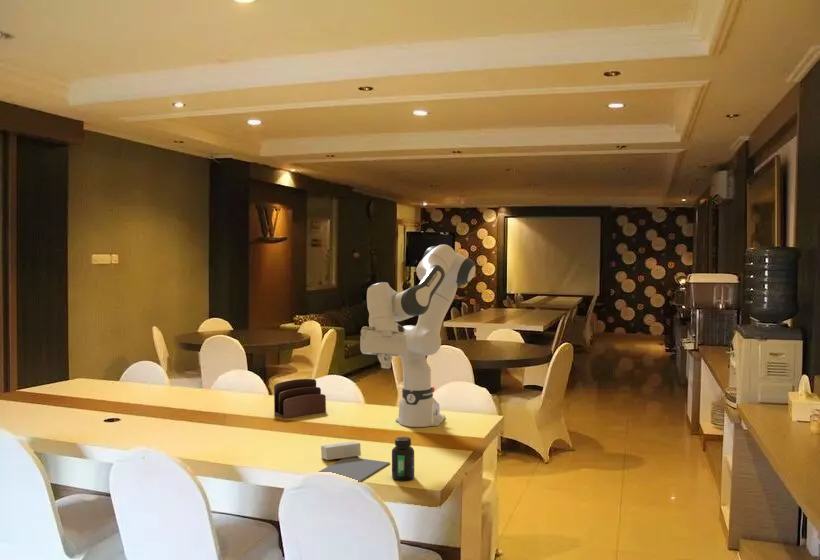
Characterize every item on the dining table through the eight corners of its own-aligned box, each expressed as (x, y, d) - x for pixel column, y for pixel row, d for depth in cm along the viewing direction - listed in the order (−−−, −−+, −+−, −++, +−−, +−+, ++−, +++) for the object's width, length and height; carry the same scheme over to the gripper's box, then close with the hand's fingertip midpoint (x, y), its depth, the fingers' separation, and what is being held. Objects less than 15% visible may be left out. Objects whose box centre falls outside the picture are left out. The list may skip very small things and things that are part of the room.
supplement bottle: (403, 483, 207) (403, 443, 207) (387, 478, 212) (387, 439, 211) (419, 477, 212) (418, 438, 212) (402, 472, 217) (402, 434, 216)
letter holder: (273, 414, 297) (273, 381, 297) (315, 408, 309) (315, 376, 308) (283, 419, 289) (283, 385, 289) (326, 412, 300) (326, 380, 300)
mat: (346, 458, 233) (346, 456, 233) (389, 463, 226) (389, 462, 226) (314, 475, 215) (314, 473, 215) (359, 482, 208) (359, 480, 208)
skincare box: (355, 453, 238) (321, 458, 233) (354, 441, 238) (320, 445, 234) (361, 456, 233) (326, 460, 228) (360, 443, 233) (326, 447, 228)
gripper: (367, 323, 231) (371, 365, 227) (408, 328, 246) (412, 367, 242) (354, 327, 235) (357, 368, 231) (395, 332, 250) (399, 370, 246)
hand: (386, 368), depth 237 cm, fingers closed
